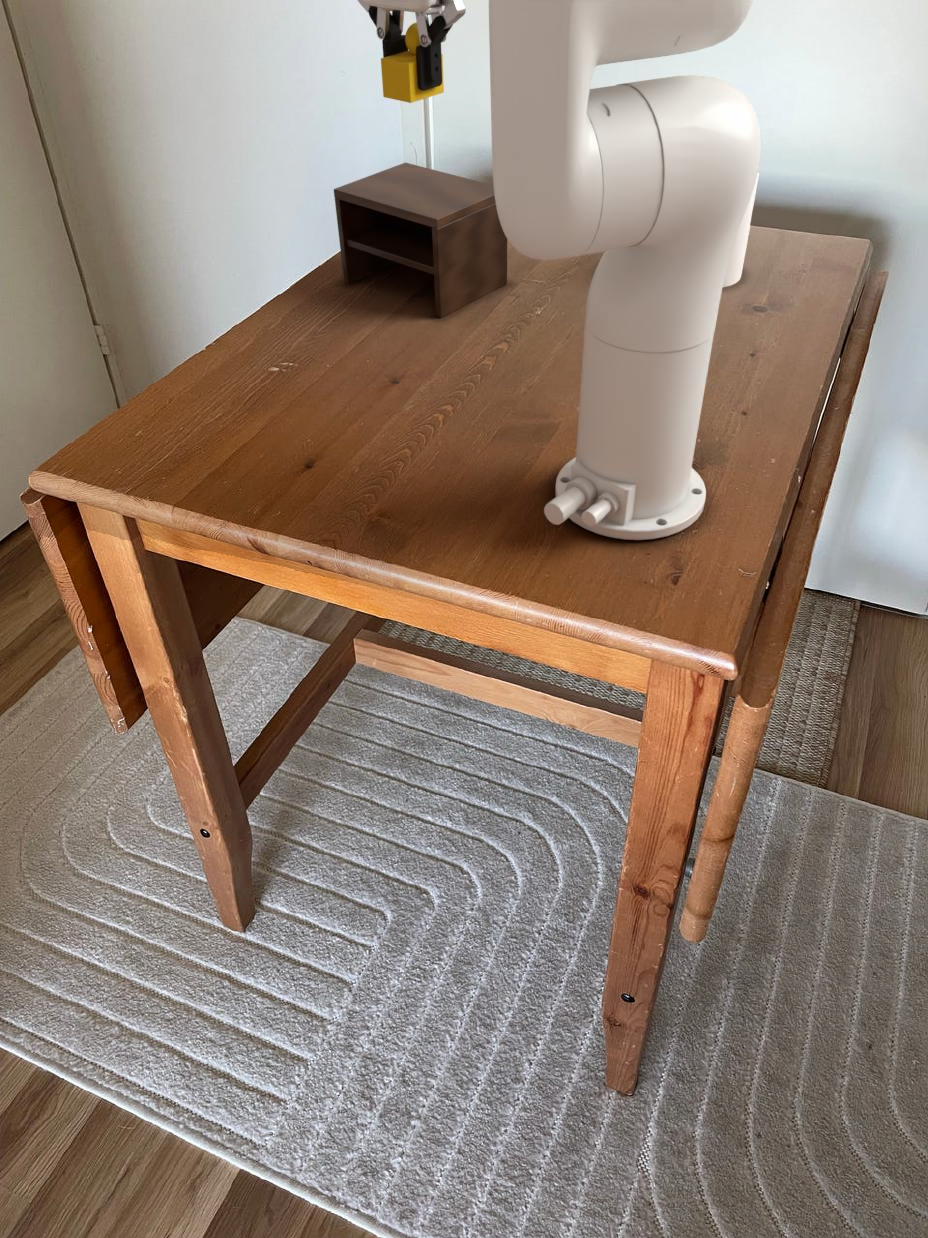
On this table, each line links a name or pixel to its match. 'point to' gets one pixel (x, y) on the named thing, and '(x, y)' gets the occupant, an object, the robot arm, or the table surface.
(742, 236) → the cylinder with rectangular tab
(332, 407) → the table surface
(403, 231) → the shelf
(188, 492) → the table surface
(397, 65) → the duck
